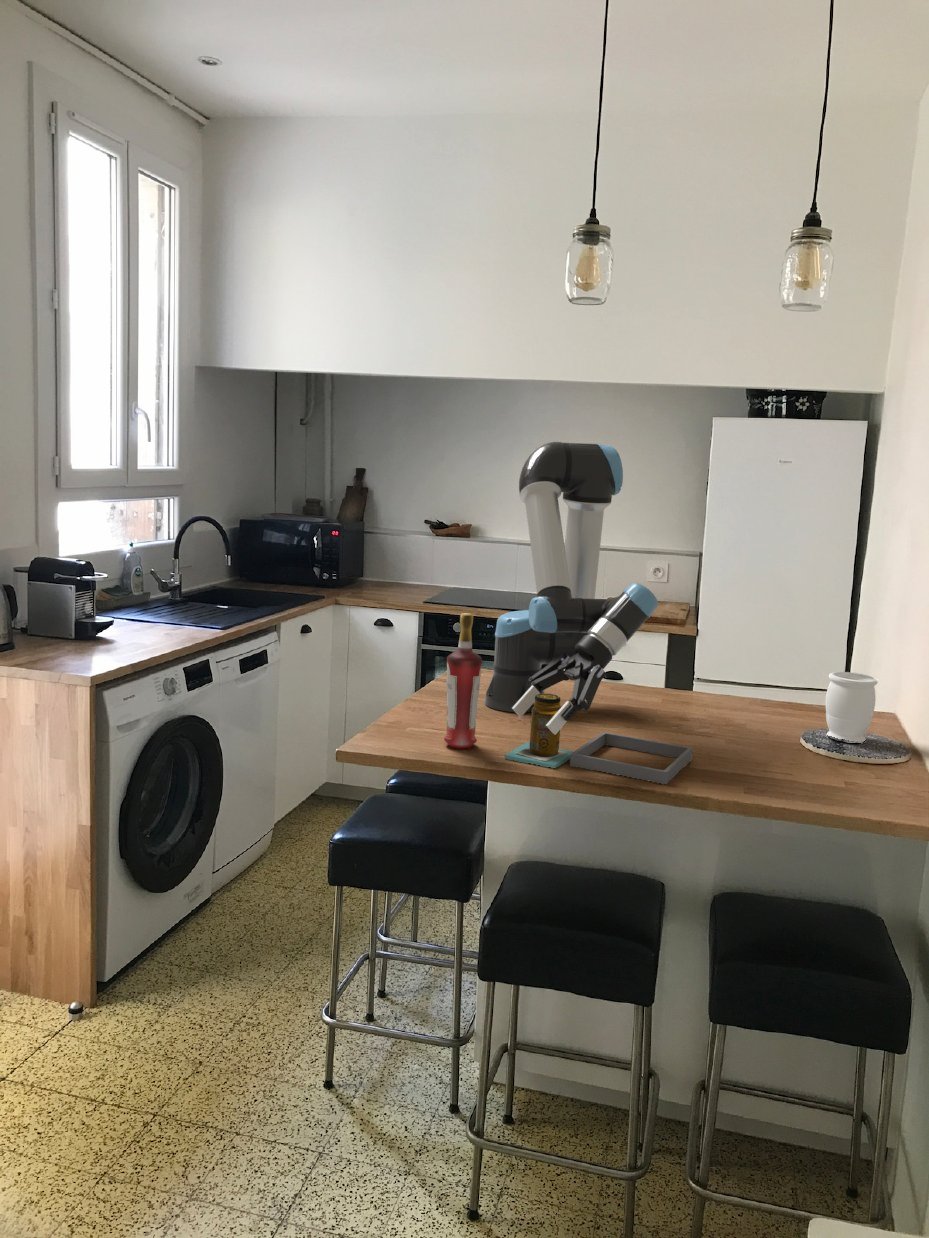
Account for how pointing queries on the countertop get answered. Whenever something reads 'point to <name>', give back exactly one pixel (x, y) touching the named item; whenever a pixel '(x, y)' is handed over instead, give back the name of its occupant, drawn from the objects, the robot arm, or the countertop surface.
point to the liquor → (463, 689)
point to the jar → (850, 705)
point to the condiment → (543, 729)
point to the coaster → (549, 763)
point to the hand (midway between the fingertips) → (532, 721)
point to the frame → (645, 773)
